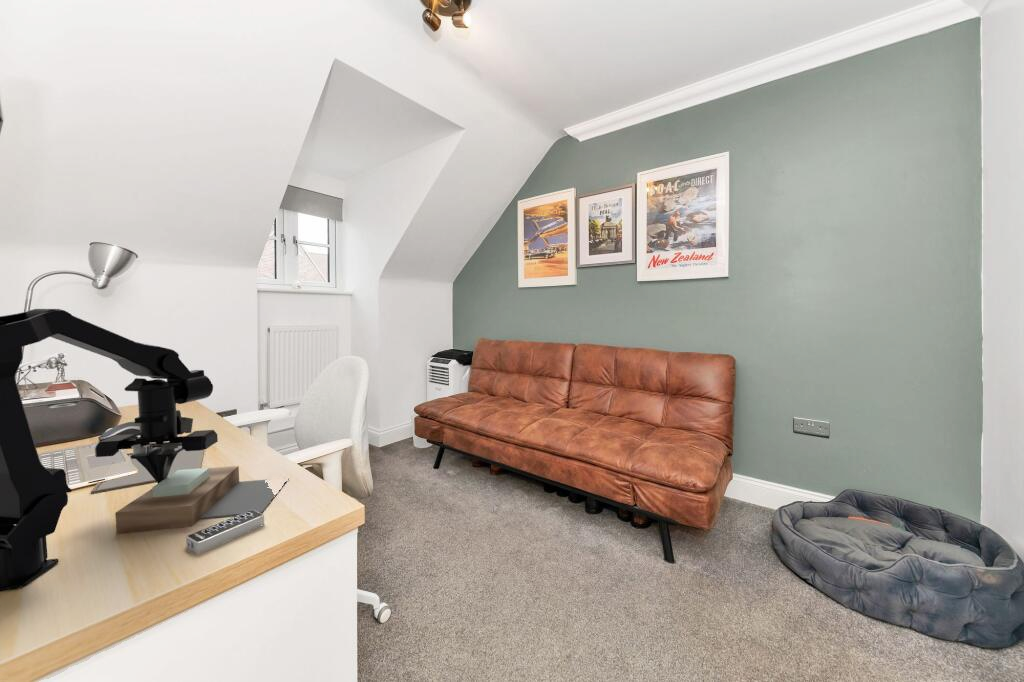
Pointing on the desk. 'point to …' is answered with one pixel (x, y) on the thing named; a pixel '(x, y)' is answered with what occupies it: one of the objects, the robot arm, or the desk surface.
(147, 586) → the desk surface
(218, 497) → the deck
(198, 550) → the multiport hub
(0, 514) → the robot arm
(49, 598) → the desk surface
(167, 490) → the block
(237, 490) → the mat
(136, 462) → the thin grey panel
